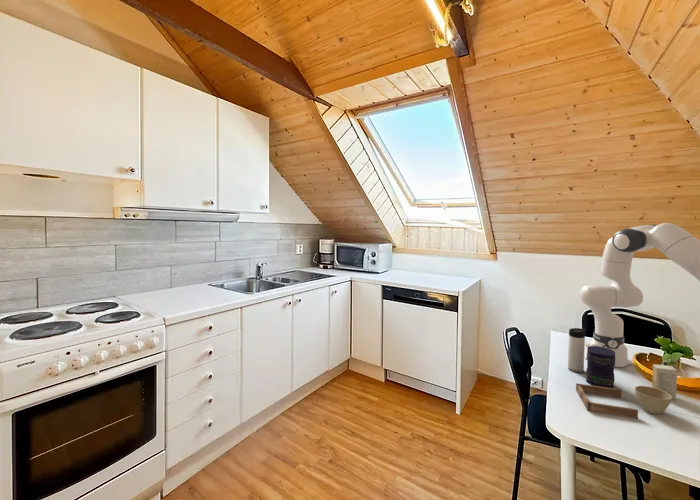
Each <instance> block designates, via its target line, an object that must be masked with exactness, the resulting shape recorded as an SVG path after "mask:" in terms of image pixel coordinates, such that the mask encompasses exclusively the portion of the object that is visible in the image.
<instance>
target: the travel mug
mask: <svg viewBox="0 0 700 500" xmlns="http://www.w3.org/2000/svg"><path fill="white" fill-rule="evenodd" d="M586 332H587V329H585V328H579V327H573V328H569V329H568V346H567V347H568V349H567V351H568V352H567V354H568V355H567V369H568V370H569V371H571V372H573V373H584V370H585V369H584V367H585V356H584V349H585V348H586V336H585V335H586Z"/></svg>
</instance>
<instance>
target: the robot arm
mask: <svg viewBox="0 0 700 500" xmlns="http://www.w3.org/2000/svg"><path fill="white" fill-rule="evenodd" d="M651 249H657V250H658V251H660V252H661V253H662V254H663V255H664V256H665V257H667V258H668V259H669V260H670V261H672V262H673V263H675V264H676V265H677V266H679V267H680V268H682V269H683V270H685V271H686V272H688V273H689V274H690V275H691V276H693V277H694V278H696V279H697V280H698V281H699V282H700V239H699V238H697V237H696V236H694V235H693V234H692V233H690V232H689V231H687V229H684V228H682V227H681V226H678V225H677V224H674V223H672V222H663V223H659V224H647V225H646V224H645V225H637V226H633V227H629V228H623V229H621V230H619V231H617V232H615V233H614V234H613V236H612V237H610V238H609V239H608V240H607V242H606V244H605V247H604V249H603V253H602V259H601V263H600V273H601V275H602V276H603V277H604V278H605V279H608V280H610V281H611V283H609V284H589V285H588V284H587V285H584V286H582V288H580V290H579V298H580V301H581V302H582V303H583V304H584V305H585V306H587V307H588V308H589V309H590V310H591V312H592V314H593V317H594V327H595V328H594V331H593V335H592V339H591V340H590V341H588V343H587V342H585V349H584V360H587V351H588V350H587V348H588V347H590V346H598V347H603V346H602V345H605V346H606V347H604V348H608V349H611V350H613V351H615V366H614V368H624V367H626V366H629V365H632V361H631V360H629V358H628V347H627V346H626V345H625V336H624V320H623V318H621V317H620V316H619V315H617V314H615V313H613V312H612V308H634V307H638V306H639V307H640V306H641V304H642V303H643V302H644V294H643V292H642V290H641V289H640V288H639V287H637V286H636V285H635V284H634V283H633V281H632V279H631V270H632V263H633V257H634V254H635V252H636V253H637V252H644V251H647V250H651Z"/></svg>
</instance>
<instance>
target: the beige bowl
mask: <svg viewBox="0 0 700 500" xmlns="http://www.w3.org/2000/svg"><path fill="white" fill-rule="evenodd" d="M634 392H635V397H636V398H637V401H638V404H639V405H640V406H641V408H642V409H643V411H645V412H647V413H650V414H652V415H661V414H663V413H664V412H665V411H666V409H668V407H669V406H670V404H671V402H672V399H671V398H672V397H671V395H670V394H668V393H667V392H665V391H662V390H660V389H657V388H653V387H652V386H646V385H638V386H635V387H634Z"/></svg>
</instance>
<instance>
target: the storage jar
mask: <svg viewBox="0 0 700 500" xmlns="http://www.w3.org/2000/svg"><path fill="white" fill-rule="evenodd" d="M602 346H603V347H598V346H590V347H588V348H587V350H588V351H587V359H586V361H587V363H586V364H587V366H586V367H587V368H586V372H585V377H586V379H585V381H586V383H587V385H592V386H599V387H607V388H614V389H615V385H614V384H615V378H616V377H615V373H614V372H615V367H614V366H615V351H613V350H611V349H608V348H604V347H606V346H605V345H602Z"/></svg>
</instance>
